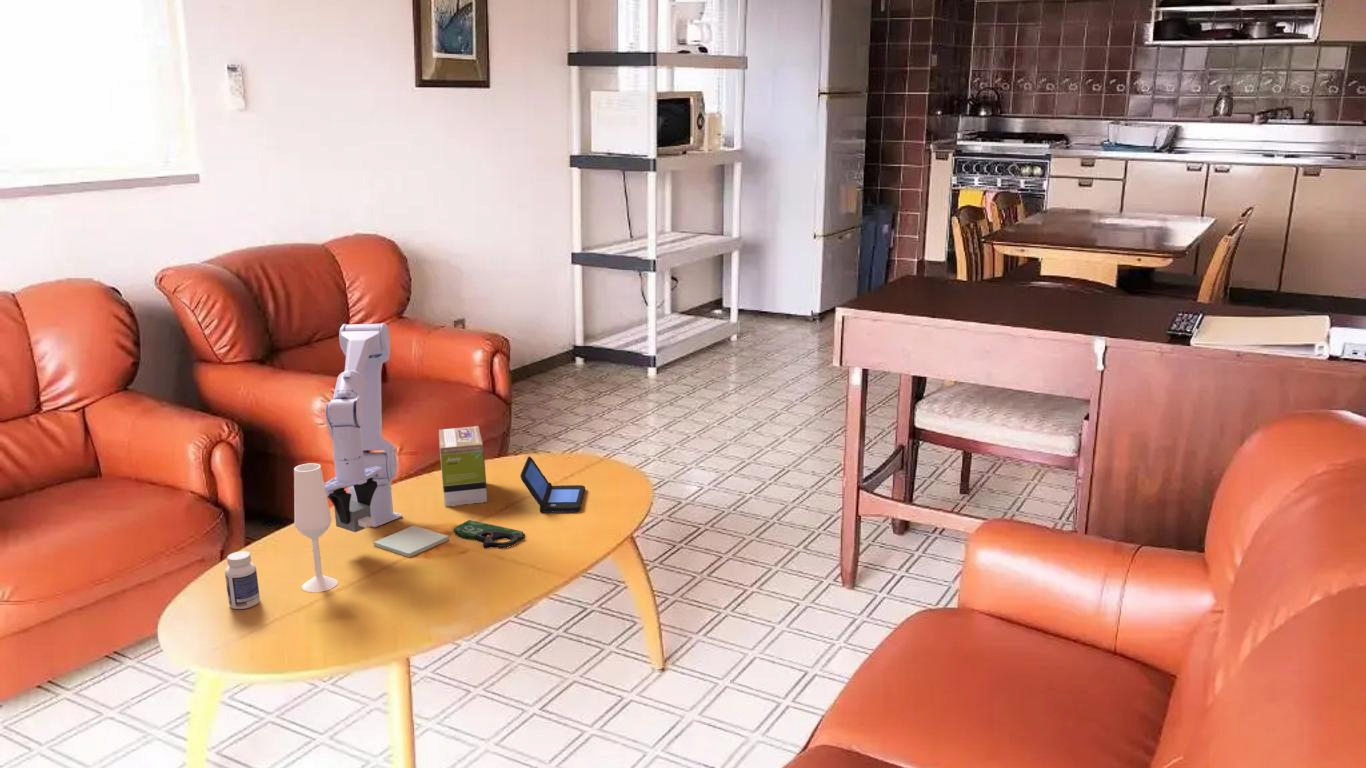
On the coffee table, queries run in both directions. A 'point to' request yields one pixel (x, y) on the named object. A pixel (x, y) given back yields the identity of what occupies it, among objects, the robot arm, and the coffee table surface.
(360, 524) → the connector plug
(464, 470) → the tea box
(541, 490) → the handheld game console
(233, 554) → the pill bottle
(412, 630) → the coffee table surface
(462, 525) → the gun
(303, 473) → the champagne flute
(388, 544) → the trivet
